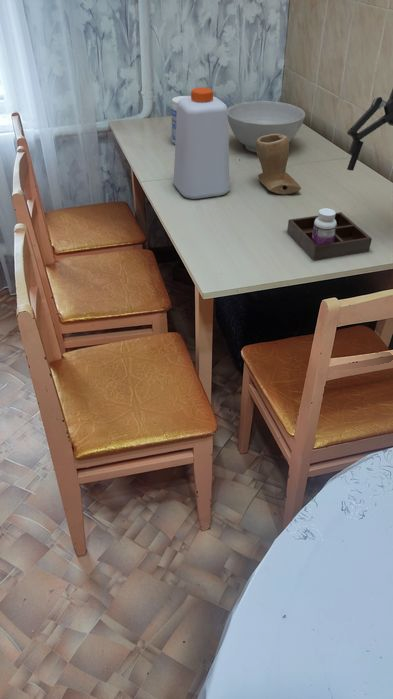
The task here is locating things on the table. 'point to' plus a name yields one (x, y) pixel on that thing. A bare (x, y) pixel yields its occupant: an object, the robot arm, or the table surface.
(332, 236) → the pill bottle
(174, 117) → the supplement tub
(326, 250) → the grid
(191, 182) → the plastic bottle
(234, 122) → the decorative bowl
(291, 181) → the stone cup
